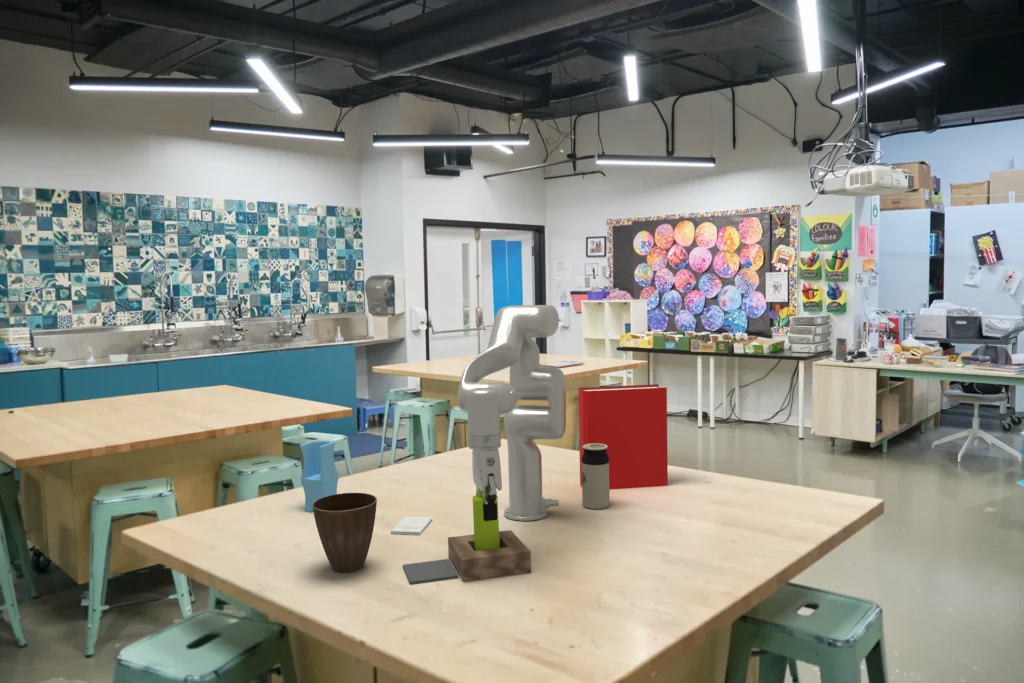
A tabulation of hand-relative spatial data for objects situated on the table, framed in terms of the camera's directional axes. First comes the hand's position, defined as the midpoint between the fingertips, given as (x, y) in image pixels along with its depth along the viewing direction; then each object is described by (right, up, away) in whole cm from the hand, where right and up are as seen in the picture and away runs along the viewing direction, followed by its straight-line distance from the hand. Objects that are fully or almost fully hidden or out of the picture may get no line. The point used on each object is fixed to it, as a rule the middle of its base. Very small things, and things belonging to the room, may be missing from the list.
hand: (486, 515), depth 179 cm
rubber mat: (-13, -12, -3) cm, 18 cm away
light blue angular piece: (-52, -10, +50) cm, 72 cm away
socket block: (0, -12, +1) cm, 12 cm away
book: (+42, -6, +68) cm, 80 cm away
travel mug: (+31, -8, +46) cm, 56 cm away
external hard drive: (-22, -11, +30) cm, 39 cm away
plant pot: (-33, -13, +1) cm, 36 cm away
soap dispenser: (0, -9, +1) cm, 9 cm away
